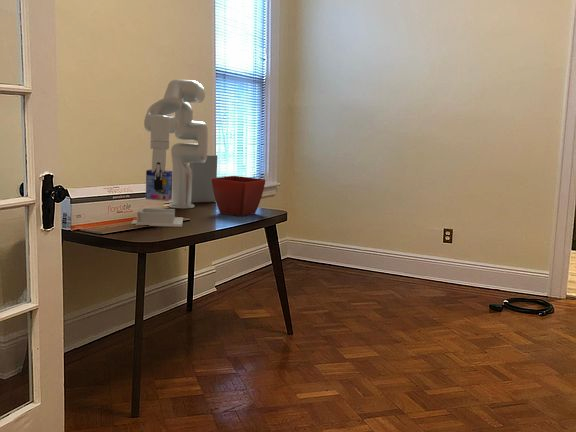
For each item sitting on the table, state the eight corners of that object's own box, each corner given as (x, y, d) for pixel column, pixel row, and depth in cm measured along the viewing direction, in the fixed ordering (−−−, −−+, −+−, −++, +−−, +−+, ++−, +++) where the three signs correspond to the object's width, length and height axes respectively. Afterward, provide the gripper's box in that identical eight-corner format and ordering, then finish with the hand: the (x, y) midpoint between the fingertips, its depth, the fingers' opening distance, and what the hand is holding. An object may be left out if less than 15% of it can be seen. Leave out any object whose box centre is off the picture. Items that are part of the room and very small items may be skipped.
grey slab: (211, 200, 315) (212, 154, 311) (216, 202, 310) (217, 155, 306) (187, 201, 308) (188, 154, 304) (192, 203, 303) (193, 155, 299)
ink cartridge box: (144, 199, 240) (145, 164, 238) (149, 197, 245) (150, 163, 243) (168, 201, 239) (168, 166, 237) (172, 199, 244) (173, 165, 242)
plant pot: (243, 218, 265) (244, 182, 262) (209, 213, 274) (210, 178, 271) (264, 214, 281) (266, 179, 278) (232, 209, 290) (233, 175, 287)
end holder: (136, 218, 250) (136, 207, 249) (183, 219, 253) (183, 208, 252) (131, 225, 235) (131, 213, 234) (181, 226, 238) (182, 214, 237)
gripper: (152, 144, 246) (151, 186, 249) (148, 146, 230) (147, 190, 232) (170, 145, 248) (169, 186, 250) (167, 146, 231) (166, 191, 233)
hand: (158, 188), depth 241 cm, fingers closed on ink cartridge box, 6 cm apart
